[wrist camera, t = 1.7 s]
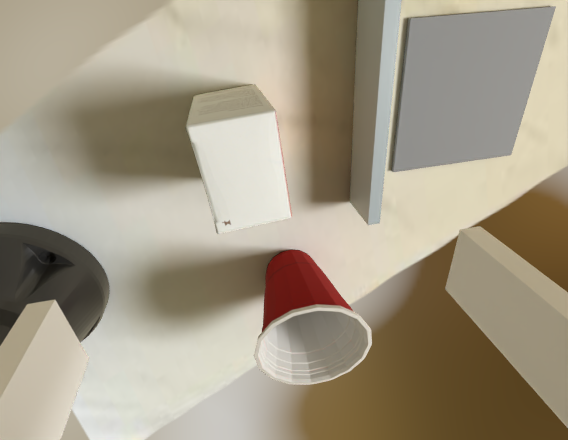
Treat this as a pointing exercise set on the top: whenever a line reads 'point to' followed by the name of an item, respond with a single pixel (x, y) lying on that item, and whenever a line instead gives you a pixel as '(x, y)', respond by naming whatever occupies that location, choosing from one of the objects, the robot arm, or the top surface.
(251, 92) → the small box
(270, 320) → the plastic cup
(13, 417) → the robot arm
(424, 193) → the top surface
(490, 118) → the mat
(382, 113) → the low wall
